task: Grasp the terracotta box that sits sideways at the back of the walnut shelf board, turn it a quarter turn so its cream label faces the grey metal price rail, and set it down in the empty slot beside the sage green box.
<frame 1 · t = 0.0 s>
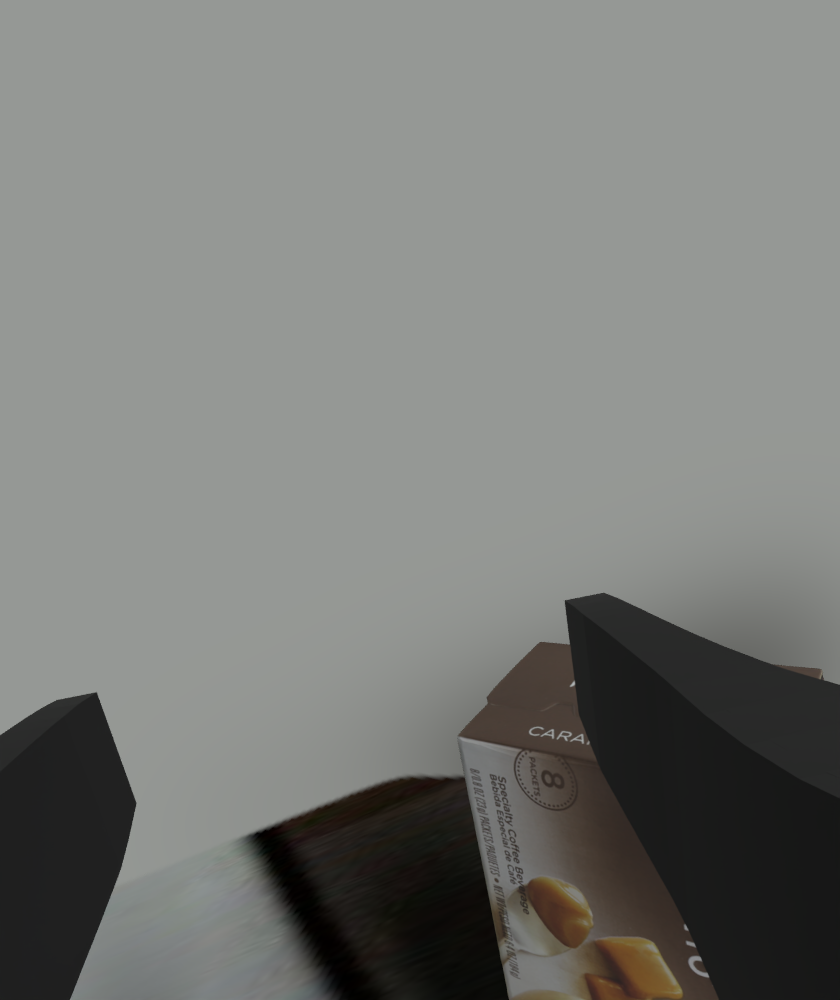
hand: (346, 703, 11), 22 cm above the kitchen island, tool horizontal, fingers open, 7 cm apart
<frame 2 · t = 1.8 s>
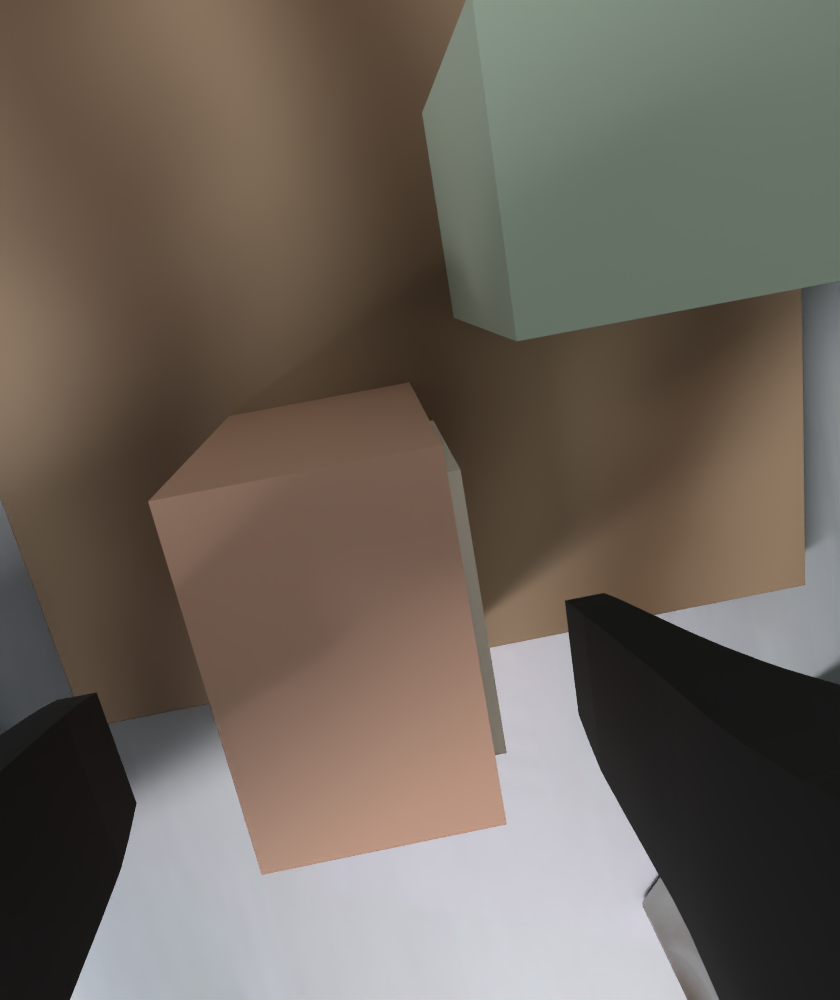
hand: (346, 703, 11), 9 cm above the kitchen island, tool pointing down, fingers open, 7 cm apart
coffee box: (782, 823, 24), on the kitchen island
terracotta box: (433, 517, 18), point 1 cm above the kitchen island, touching shelf board
shelf board: (391, 338, 18), on the kitchen island
sage box: (578, 85, 16), point 1 cm above the kitchen island, touching shelf board
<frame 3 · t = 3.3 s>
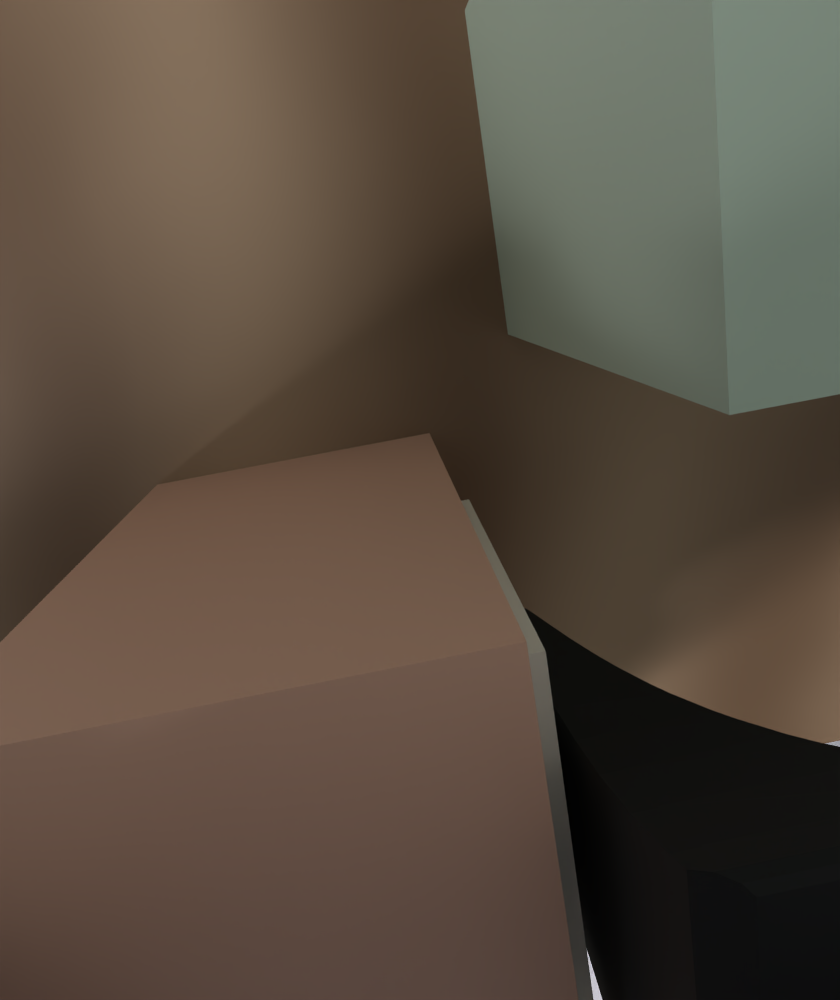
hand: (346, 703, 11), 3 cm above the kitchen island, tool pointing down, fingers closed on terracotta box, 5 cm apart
terracotta box: (463, 626, 13), point 1 cm above the kitchen island, touching gripper, shelf board
shelf board: (411, 362, 12), on the kitchen island
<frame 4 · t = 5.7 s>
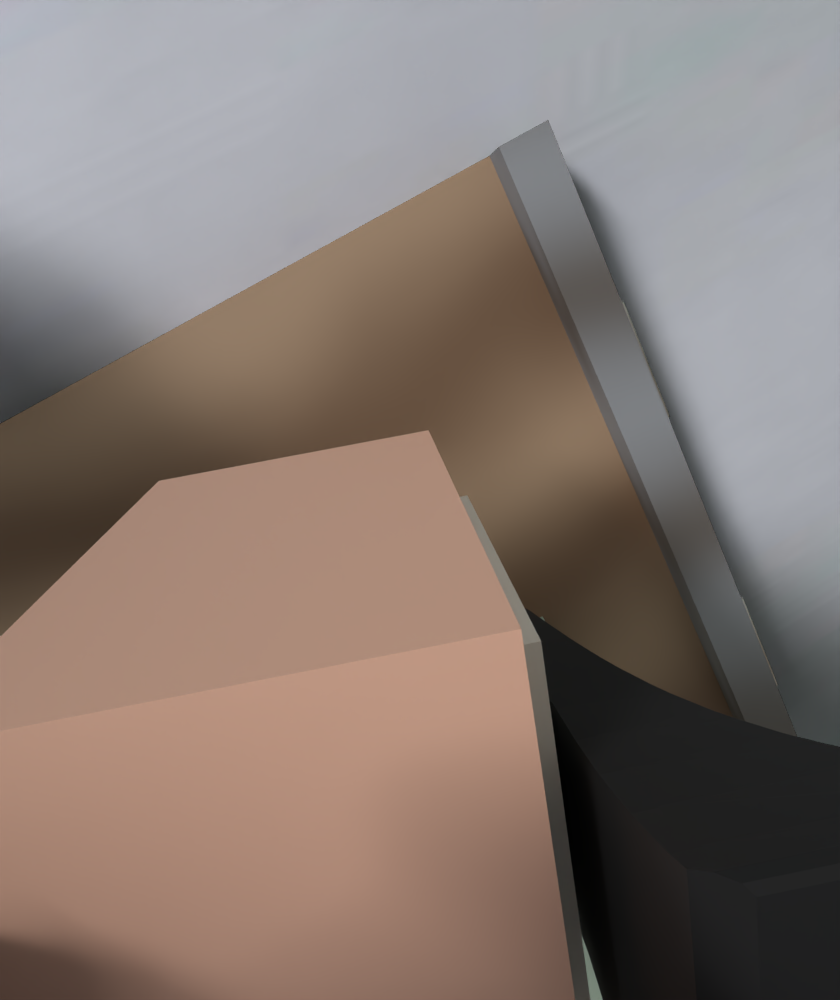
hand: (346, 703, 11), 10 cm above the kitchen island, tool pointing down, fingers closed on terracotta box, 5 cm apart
terracotta box: (461, 622, 13), point 8 cm above the kitchen island, touching gripper
shelf board: (371, 628, 22), on the kitchen island
sage box: (589, 708, 22), point 1 cm above the kitchen island, touching shelf board
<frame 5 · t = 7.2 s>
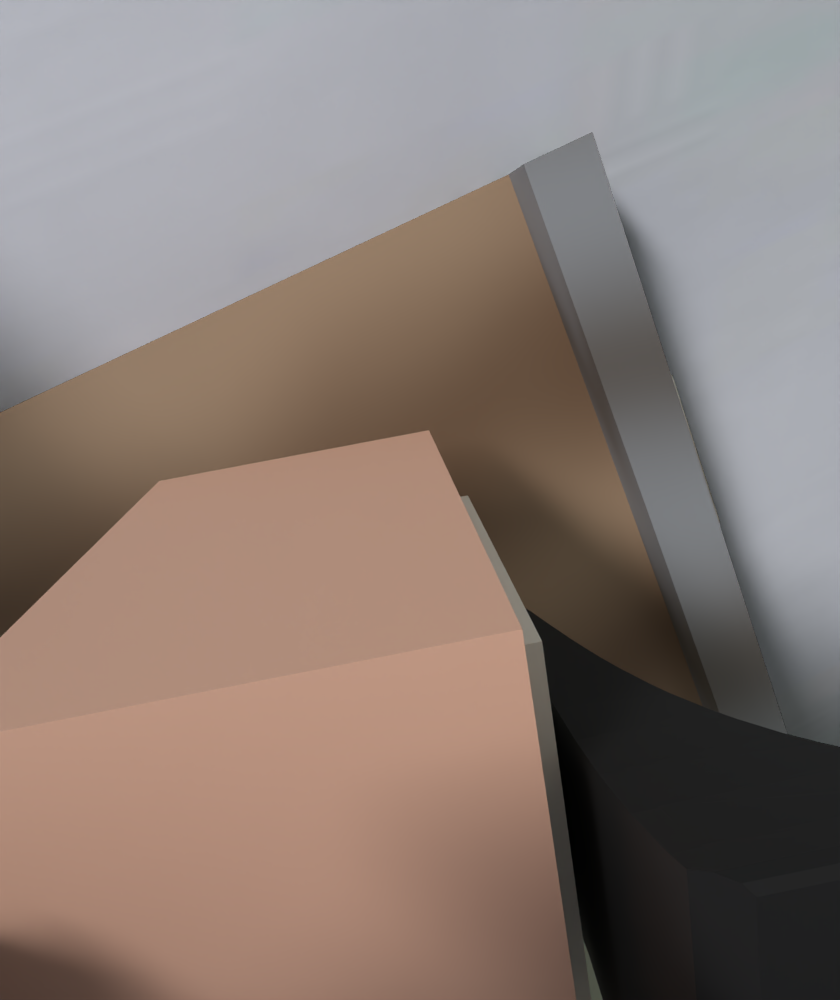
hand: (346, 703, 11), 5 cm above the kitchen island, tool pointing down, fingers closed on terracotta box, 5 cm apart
terracotta box: (462, 622, 13), point 4 cm above the kitchen island, touching gripper
shelf board: (326, 750, 17), on the kitchen island
sage box: (591, 861, 17), point 1 cm above the kitchen island, touching shelf board
when the fingers open (4 cm above the kitchen island, at t = 8.4 s): terracotta box stays where it is, resting on shelf board.
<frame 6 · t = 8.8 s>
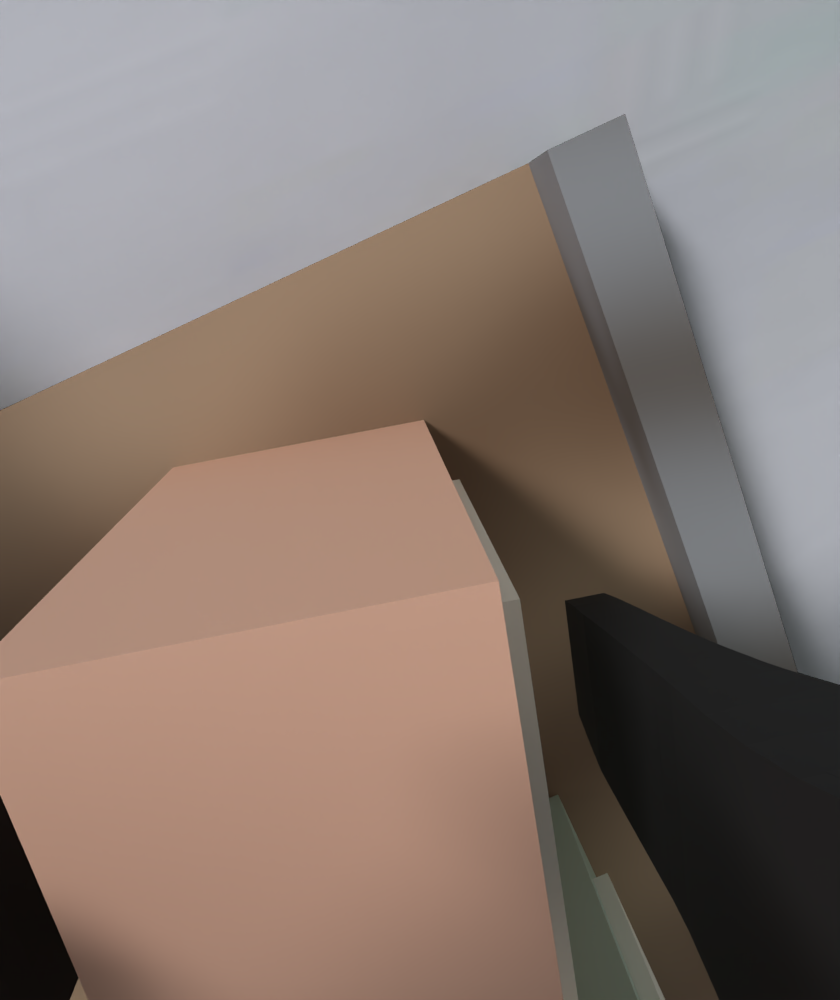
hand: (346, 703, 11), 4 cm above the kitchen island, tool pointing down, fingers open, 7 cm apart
terracotta box: (455, 600, 14), point 1 cm above the kitchen island, touching shelf board
shelf board: (325, 789, 16), on the kitchen island
sage box: (611, 910, 16), point 1 cm above the kitchen island, touching shelf board
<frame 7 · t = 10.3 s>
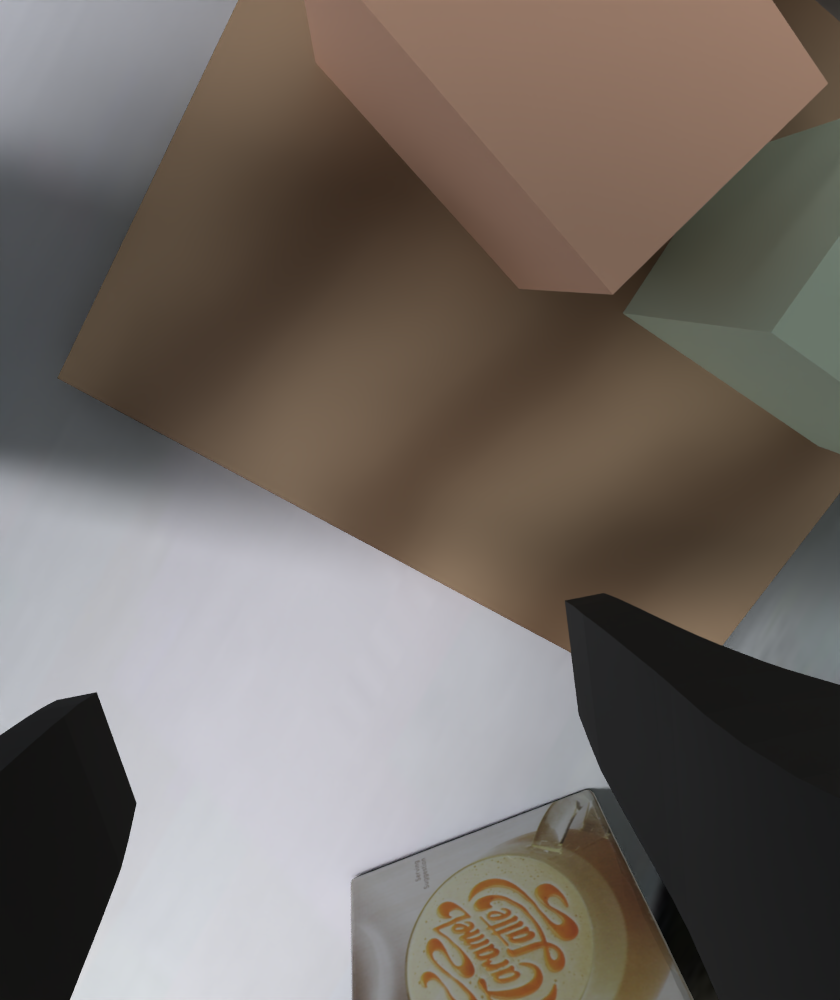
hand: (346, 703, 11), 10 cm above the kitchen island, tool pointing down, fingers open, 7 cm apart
coffee box: (500, 888, 26), on the kitchen island
terracotta box: (556, 38, 17), point 1 cm above the kitchen island, touching shelf board
shelf board: (557, 291, 20), on the kitchen island
sage box: (827, 235, 19), point 1 cm above the kitchen island, touching shelf board
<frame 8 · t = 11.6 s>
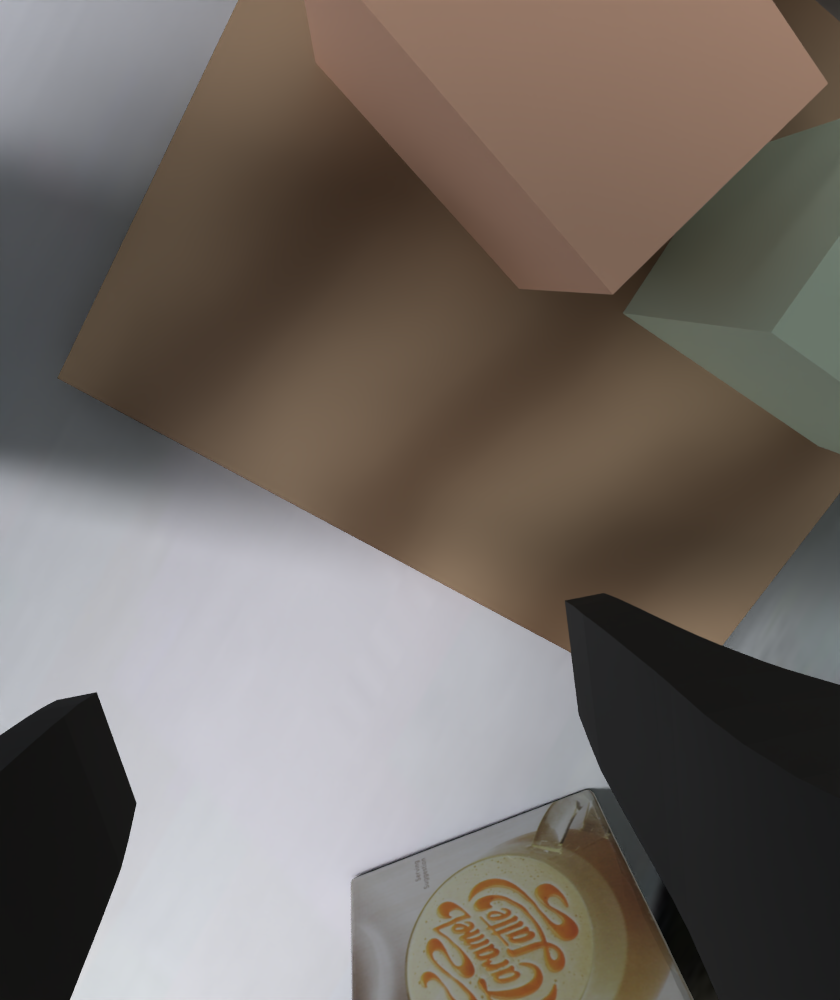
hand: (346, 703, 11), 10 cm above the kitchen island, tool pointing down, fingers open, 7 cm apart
coffee box: (500, 888, 26), on the kitchen island
terracotta box: (556, 38, 17), point 1 cm above the kitchen island, touching shelf board
shelf board: (557, 291, 20), on the kitchen island
sage box: (827, 235, 19), point 1 cm above the kitchen island, touching shelf board
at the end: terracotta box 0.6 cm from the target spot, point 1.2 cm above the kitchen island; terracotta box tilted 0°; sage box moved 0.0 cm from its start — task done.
